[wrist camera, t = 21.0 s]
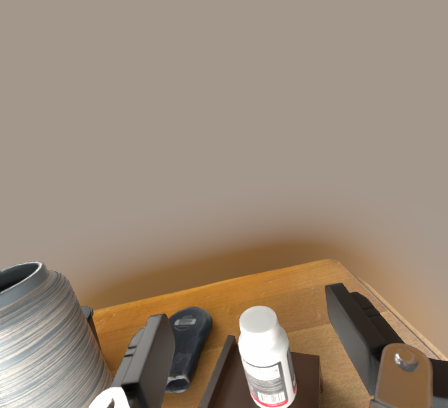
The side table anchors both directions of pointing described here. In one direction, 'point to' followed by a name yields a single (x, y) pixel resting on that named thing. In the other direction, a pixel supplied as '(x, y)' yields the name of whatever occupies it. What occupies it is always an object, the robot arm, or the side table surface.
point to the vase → (46, 342)
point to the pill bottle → (266, 358)
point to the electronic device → (187, 345)
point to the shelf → (238, 386)
